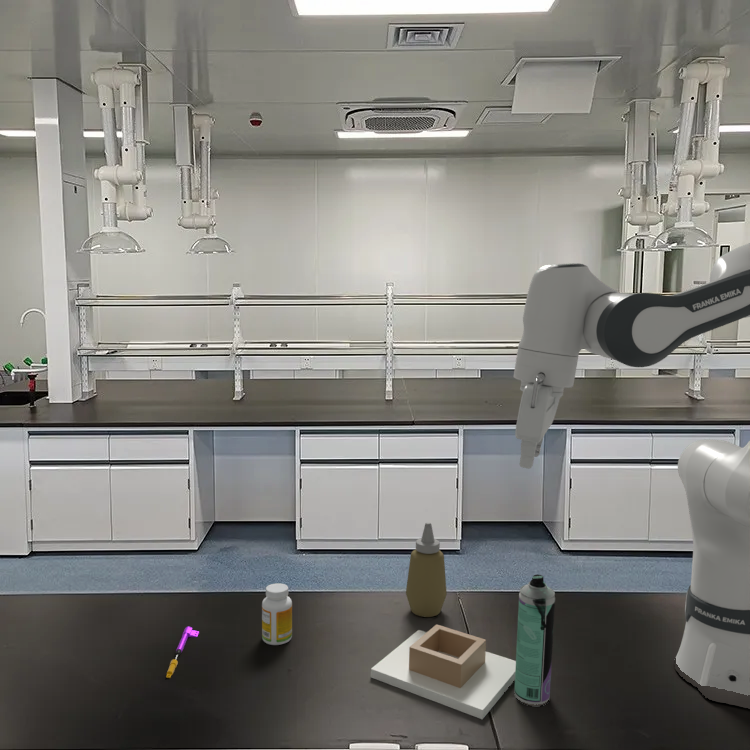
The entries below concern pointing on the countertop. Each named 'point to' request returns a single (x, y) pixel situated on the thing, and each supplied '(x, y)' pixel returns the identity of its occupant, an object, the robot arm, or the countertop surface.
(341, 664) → the countertop surface
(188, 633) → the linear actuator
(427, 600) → the squeeze bottle
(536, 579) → the spray can
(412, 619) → the countertop surface
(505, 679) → the socket board
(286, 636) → the supplement bottle
